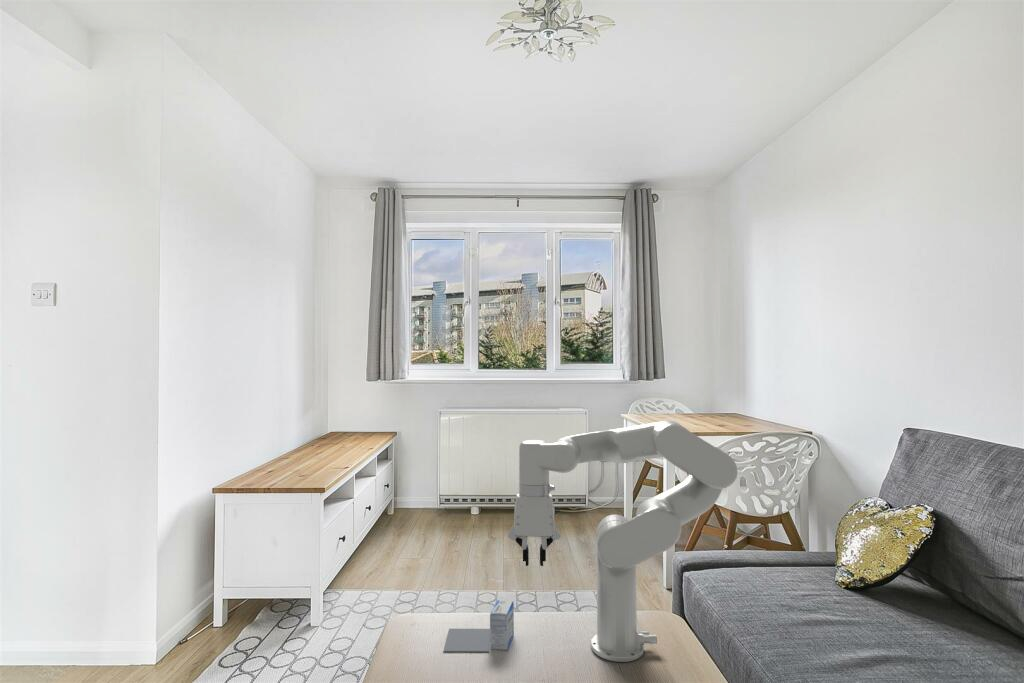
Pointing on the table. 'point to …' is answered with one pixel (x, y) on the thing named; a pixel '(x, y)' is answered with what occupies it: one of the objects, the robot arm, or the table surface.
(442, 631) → the table surface
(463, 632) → the mat
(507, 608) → the medicine box
